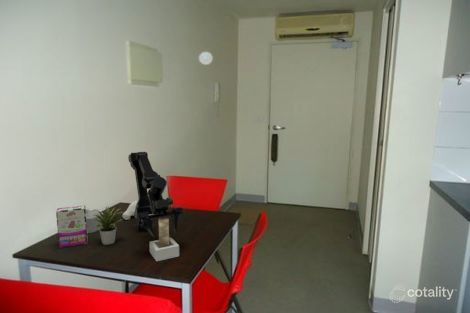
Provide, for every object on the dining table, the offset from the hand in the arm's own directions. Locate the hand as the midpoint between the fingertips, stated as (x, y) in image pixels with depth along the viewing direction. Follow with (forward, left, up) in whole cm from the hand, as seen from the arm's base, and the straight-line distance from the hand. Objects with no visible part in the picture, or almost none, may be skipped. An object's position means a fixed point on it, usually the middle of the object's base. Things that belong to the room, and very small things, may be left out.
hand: (165, 234), depth 128 cm
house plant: (-23, +18, -9) cm, 31 cm away
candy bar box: (-37, +21, -9) cm, 44 cm away
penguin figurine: (-13, +50, -9) cm, 53 cm away
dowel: (0, +1, -8) cm, 8 cm away
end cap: (0, +1, -9) cm, 9 cm away
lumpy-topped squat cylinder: (-33, +40, -9) cm, 53 cm away
